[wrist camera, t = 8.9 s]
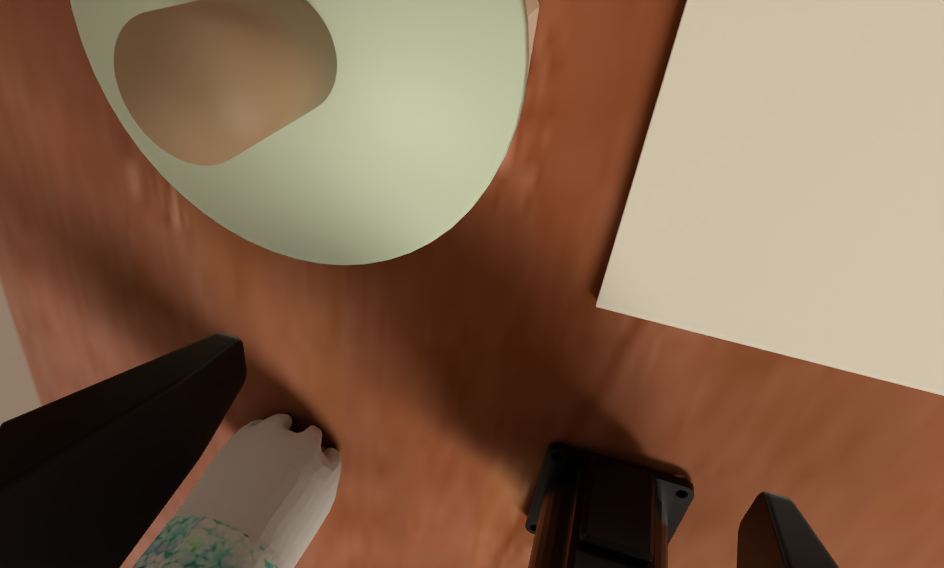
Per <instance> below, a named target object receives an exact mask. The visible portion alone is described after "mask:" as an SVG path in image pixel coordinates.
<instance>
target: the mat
mask: <svg viewBox="0 0 944 568" xmlns="http://www.w3.org/2000/svg"><path fill="white" fill-rule="evenodd" d="M596 307H598V308H602V309H606V310H610V311H614V312H618V313H622V314H626V315H630V316H634V317H638V318H642V319H645V320H649V321H653V322H657V323H661V324H665V325H669V326H673V327H677V328H681V329H685V330H689V331H692V332H696V333H700V334H704V335H708V336H712V337H716V338H720V339H724V340H728V341H732V342H736V343H740V344H743V345H747V346H751V347H755V348H759V349H763V350H767V351H771V352H775V353H779V354H783V355H787V356H791V357H794V358H798V359H802V360H806V361H810V362H814V363H818V364H822V365H826V366H830V367H834V368H838V369H841V370H845V371H849V372H853V373H857V374H861V375H865V376H869V377H873V378H877V379H881V380H885V381H889V382H892V383H896V384H900V385H904V386H908V387H912V388H916V389H920V390H924V391H928V392H932V393H936V394H939V395H943V396H944V0H686V3H685V7H684V10H683V13H682V17H681V20H680V23H679V27H678V30H677V34H676V37H675V40H674V44H673V47H672V50H671V54H670V57H669V60H668V64H667V67H666V70H665V74H664V77H663V80H662V84H661V87H660V91H659V94H658V97H657V101H656V104H655V107H654V111H653V114H652V117H651V121H650V124H649V127H648V131H647V134H646V137H645V141H644V144H643V148H642V151H641V154H640V158H639V161H638V164H637V168H636V171H635V174H634V178H633V181H632V184H631V188H630V191H629V194H628V198H627V201H626V205H625V208H624V211H623V215H622V218H621V221H620V225H619V228H618V231H617V235H616V238H615V241H614V245H613V248H612V251H611V255H610V258H609V262H608V265H607V268H606V272H605V275H604V278H603V282H602V285H601V288H600V292H599V295H598V298H597V302H596Z"/></svg>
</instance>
